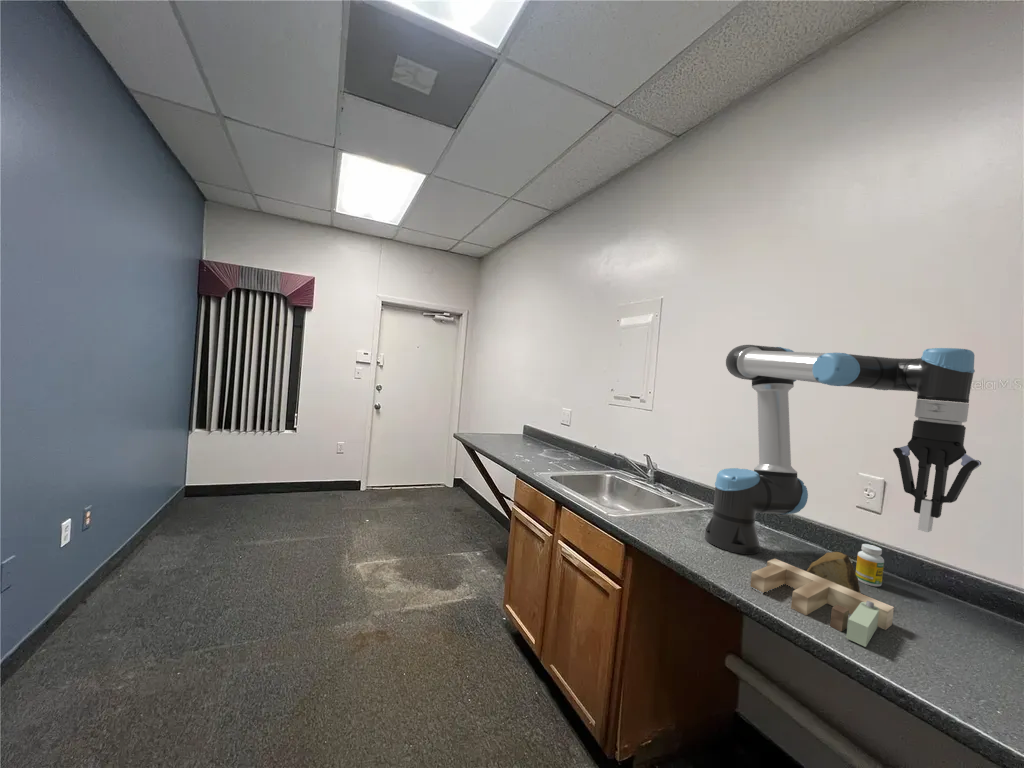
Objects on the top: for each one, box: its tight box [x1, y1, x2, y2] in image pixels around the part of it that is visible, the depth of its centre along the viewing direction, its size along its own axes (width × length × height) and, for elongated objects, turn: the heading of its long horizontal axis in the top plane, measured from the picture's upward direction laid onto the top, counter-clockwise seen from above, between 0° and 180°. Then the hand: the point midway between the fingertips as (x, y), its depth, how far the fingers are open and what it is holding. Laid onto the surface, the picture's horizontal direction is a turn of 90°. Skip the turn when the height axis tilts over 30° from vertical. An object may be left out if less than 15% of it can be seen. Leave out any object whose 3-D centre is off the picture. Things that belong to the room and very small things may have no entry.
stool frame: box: [749, 557, 895, 632], centre depth 93 cm, size 24×15×4 cm, turn 32°
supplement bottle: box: [855, 543, 885, 587], centre depth 106 cm, size 5×5×10 cm
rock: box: [806, 551, 862, 594], centre depth 103 cm, size 11×9×10 cm
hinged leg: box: [845, 601, 879, 648], centre depth 82 cm, size 12×3×5 cm, turn 128°
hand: (924, 530), depth 84 cm, fingers closed
